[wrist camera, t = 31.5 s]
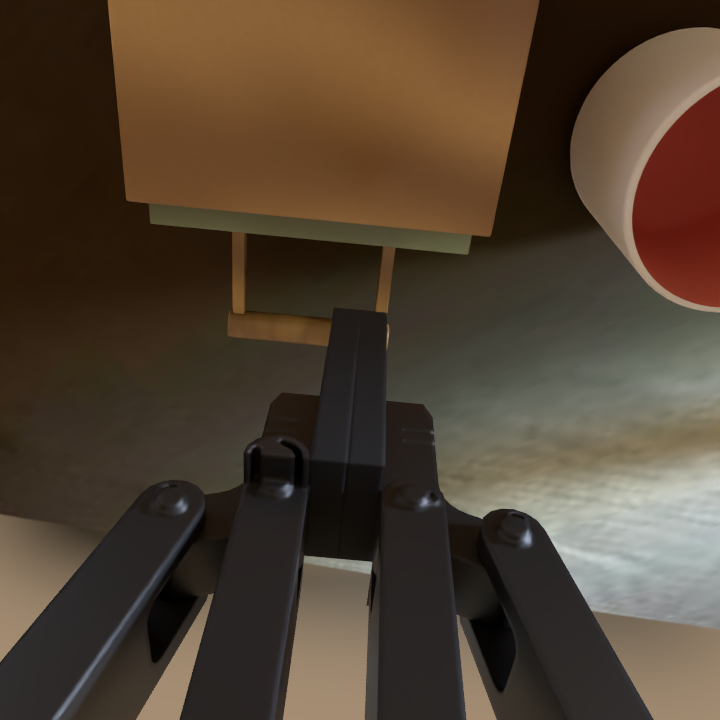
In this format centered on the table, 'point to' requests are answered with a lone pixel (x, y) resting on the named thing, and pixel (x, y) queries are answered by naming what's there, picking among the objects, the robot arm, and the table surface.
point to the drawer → (243, 223)
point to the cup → (658, 162)
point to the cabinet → (322, 106)
